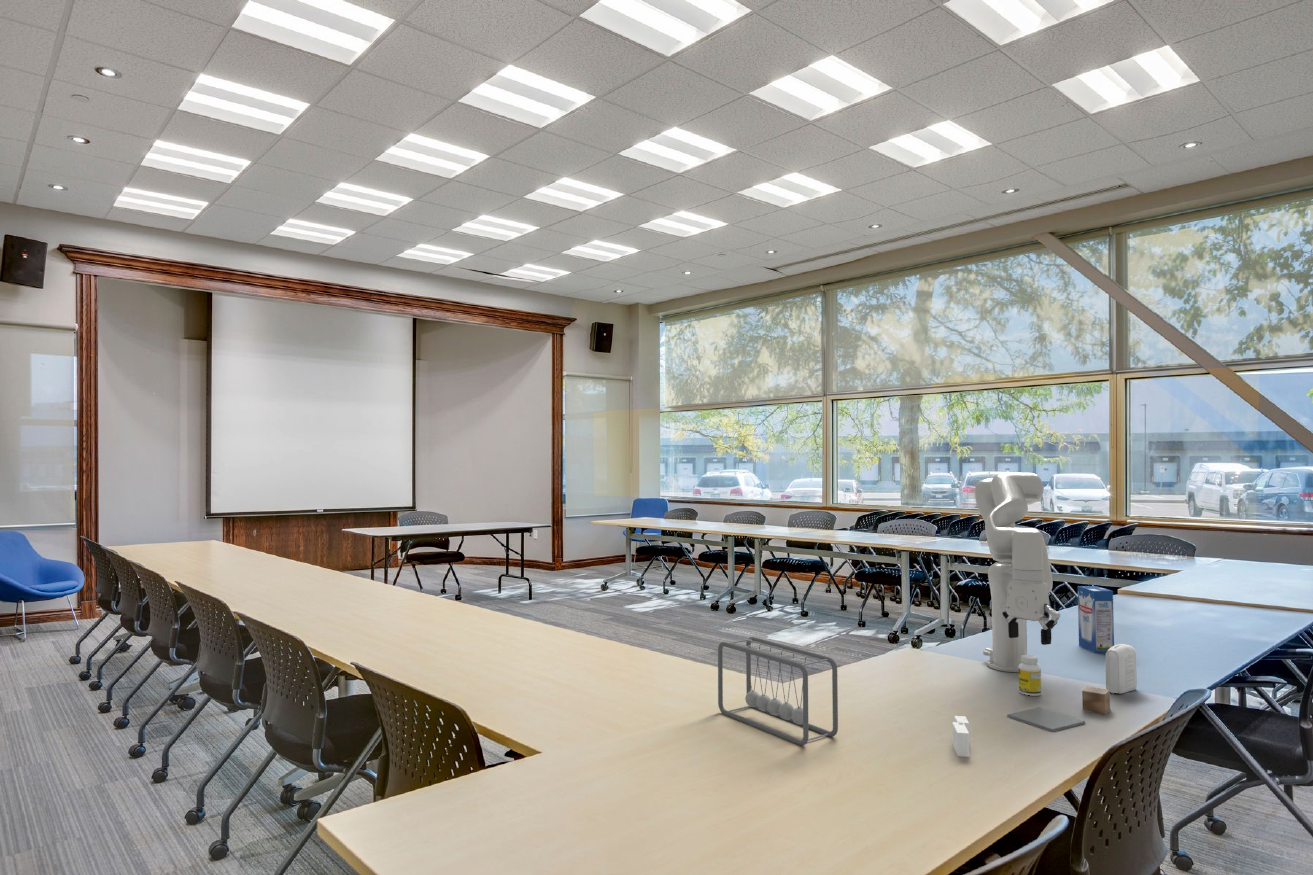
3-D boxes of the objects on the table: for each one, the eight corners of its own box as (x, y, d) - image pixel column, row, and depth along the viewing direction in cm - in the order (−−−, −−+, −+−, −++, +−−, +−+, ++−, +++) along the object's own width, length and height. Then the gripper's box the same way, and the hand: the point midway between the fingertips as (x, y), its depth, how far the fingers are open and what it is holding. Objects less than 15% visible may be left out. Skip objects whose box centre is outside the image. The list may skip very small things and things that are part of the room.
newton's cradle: (839, 738, 173) (838, 658, 174) (806, 748, 167) (805, 665, 168) (749, 704, 198) (748, 634, 198) (717, 712, 192) (716, 640, 192)
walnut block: (1082, 710, 193) (1082, 690, 193) (1087, 705, 196) (1087, 686, 197) (1105, 715, 189) (1104, 694, 189) (1110, 710, 193) (1109, 689, 193)
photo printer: (1122, 685, 214) (1121, 640, 214) (1139, 689, 210) (1138, 643, 211) (1103, 691, 208) (1102, 645, 209) (1120, 695, 205) (1119, 648, 205)
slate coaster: (1007, 716, 188) (1007, 714, 188) (1039, 709, 193) (1039, 706, 193) (1052, 731, 177) (1052, 729, 177) (1085, 723, 183) (1085, 720, 183)
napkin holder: (971, 764, 159) (970, 736, 159) (921, 749, 168) (921, 722, 168) (1006, 747, 169) (1006, 721, 169) (958, 733, 177) (957, 708, 178)
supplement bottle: (1014, 690, 209) (1014, 654, 210) (1033, 690, 210) (1033, 653, 210) (1026, 696, 204) (1025, 659, 204) (1045, 696, 204) (1044, 658, 205)
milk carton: (1114, 652, 251) (1113, 590, 251) (1095, 652, 251) (1093, 590, 252) (1097, 645, 261) (1096, 586, 261) (1078, 645, 261) (1077, 586, 262)
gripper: (991, 573, 214) (992, 636, 213) (1048, 580, 198) (1050, 648, 197) (1009, 572, 217) (1010, 633, 216) (1067, 579, 202) (1068, 645, 201)
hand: (1029, 640), depth 207 cm, fingers open, 9 cm apart
